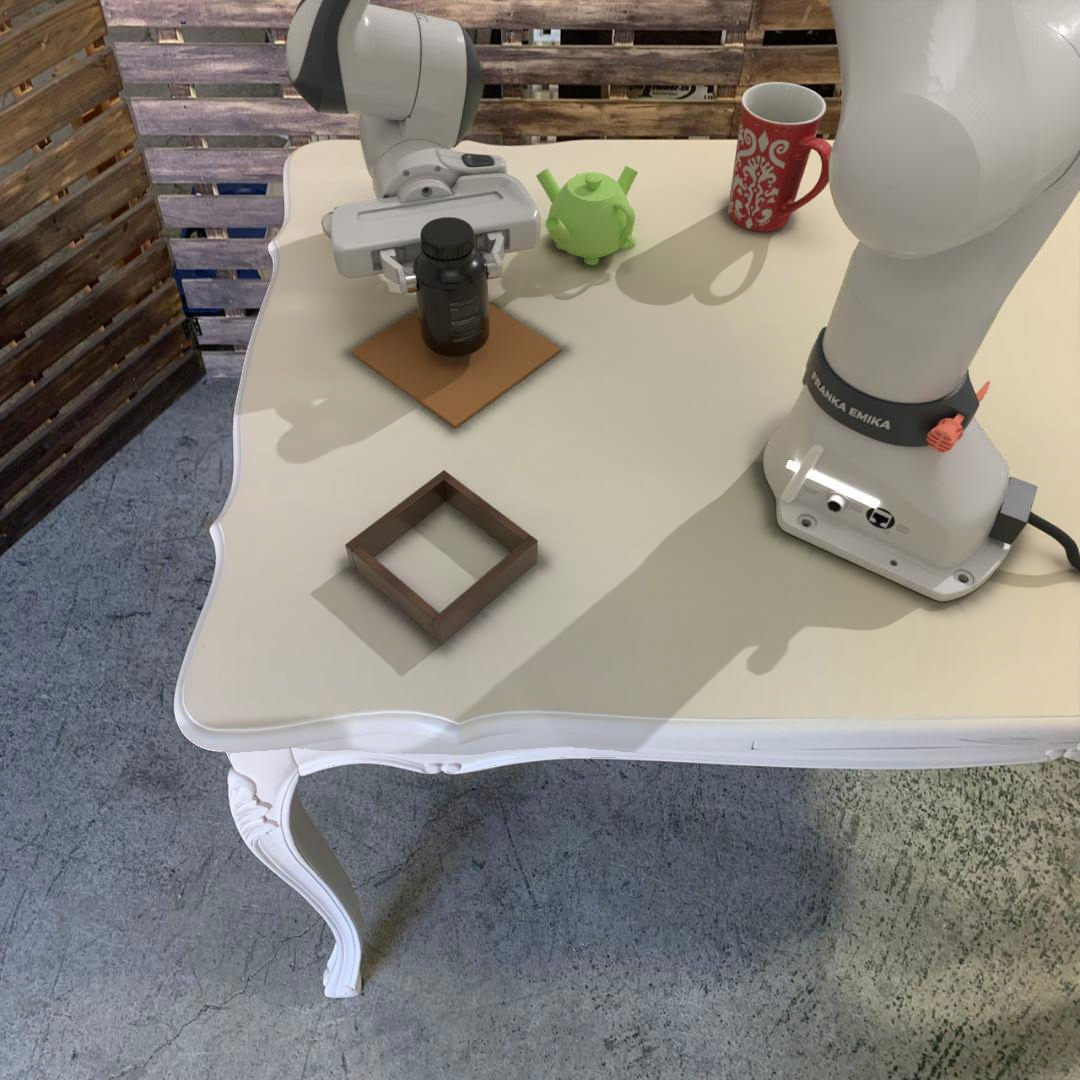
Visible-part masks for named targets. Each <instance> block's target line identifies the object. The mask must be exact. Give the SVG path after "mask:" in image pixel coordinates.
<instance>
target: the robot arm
mask: <svg viewBox="0 0 1080 1080" xmlns="http://www.w3.org/2000/svg"><path fill="white" fill-rule="evenodd" d="M370 2H371V0H300V1H299V2H298V5H297V7H296V9H295V11H294V13H293V17H292V19H291V22H290V25H289V28H288V32H287V37H286V42H285V43H286V44H285V58H286V68H287V75H288V81H289V82H290V84H291V85H292V87H293V88H294V89H295V90H296V92H297V93H298V94H299V96H300V97H301V98H302V99H303V100H304V101H305V102H306V103H307V104H308V105H309V106H310V107H311V108H312V109H313V110H314V111H316V113H320V114H321V113H322V114H336V115H337V114H338V115H349V114H354V115H359V120H358V121H359V122H358V123H359V125H358V127H359V129H358V130H359V140H360V147H361V151H362V152H361V153H362V156H363V160H364V164H365V166H366V171H367V172H368V175H369V177H370V179H371V181H372V187H373V191H374V195H375V197H376V199H369V200H362V201H357V202H355V201H354V202H350V203H345V204H342V205H338V206H335V207H334V208H333V210H332V211H329V212H328V213H326V214H324V215H322V216H321V226H322V230H323V234H325V236H326V237H327V238H329V239H330V241H331V247H332V254H333V258H334V263H335V268H336V272H337V274H338V275H339V276H340V277H343V278H345V279H348V280H353V279H360V278H366V277H372V276H377V275H383V277H384V278H386V279H388V280H389V281H390V282H392V283H394V284H395V285H397V286H399V288H400V292H401V294H402V295H407V294H413V293H416V292H418V288H417V279H416V275H415V273H414V269H413V267H414V262H415V260H416V258H417V256H418V255H419V253H420V252H421V238H420V235H421V230H422V228H423V227H424V225H426V224H427V223H428V222H430V221H432V220H434V219H438V218H443V217H452V218H454V217H455V218H460V219H461V220H464V221H466V222H468V224H470V225H471V227H472V228H473V231H474V241H475V248H476V249H477V250H478V251H479V252H480V253H481V254H482V255H483V257H484V259H485V261H486V266H487V281H488V280H493V279H500V278H501V279H502V278H503V275H504V274H503V260H504V258H505V254H510V253H516V252H522V251H529V250H532V249H535V248H536V247H537V246H538V244H539V242H540V240H541V229H542V226H541V225H542V224H541V223H542V222H541V214H540V210H539V208H538V206H537V204H536V203H535V201H534V199H533V197H532V195H531V194H530V193H529V191H528V190H527V188H526V187H525V185H524V184H523V183H522V181H520V179H518V178H516V177H515V176H513V175H511V174H508V170H507V163H506V160H505V159H504V158H503V157H502V156H501V155H498V154H482V153H480V154H479V153H471V152H462V151H457V150H453V149H455V148H456V147H458V146H459V144H460V143H461V142H462V141H463V140H464V138H465V137H466V135H467V134H468V132H469V131H470V130H471V128H472V126H473V125H474V122H475V119H476V117H477V114H478V110H479V106H480V102H481V97H482V91H483V90H482V89H483V73H482V66H481V62H480V57H479V55H478V52H477V49H476V47H475V45H474V43H473V40H472V38H471V36H470V35H469V33H468V31H467V30H466V29H465V28H464V26H463V25H462V24H461V23H460V22H459V21H453V20H450V19H446V18H441V17H437V16H433V15H428V14H422V13H418V12H414V11H412V12H410V11H407V10H406V11H405V10H400V9H396V8H390V7H386V6H381V5H377V4H372V3H370ZM828 3H829V7H830V11H831V15H832V20H833V26H834V31H835V37H836V38H835V39H836V44H837V52H838V62H839V70H840V71H839V72H840V84H841V85H840V87H841V107H840V115H839V116H840V117H839V122H838V127H837V131H836V133H835V137H834V141H833V143H832V145H831V147H832V150H831V154H830V160H829V182H828V185H829V190H830V194H831V198H832V201H833V205H834V207H835V209H836V211H837V214H838V215H839V218H840V219H841V221H842V222H843V224H844V225H845V227H846V228H847V230H848V231H849V232H850V233H851V234H852V235H853V236H854V237H855V238H856V239H857V240H858V243H857V244H856V246H855V248H854V249H853V251H852V254H851V256H850V259H849V262H848V265H847V267H846V269H845V270H846V271H845V273H844V276H843V278H842V282H841V284H840V287H839V291H838V293H837V296H836V299H835V302H834V304H833V307H832V310H831V313H830V315H829V316H830V317H829V320H828V322H827V325H826V326H823V327H822V328H821V330H819V333H818V335H817V338H816V339H815V341H814V343H813V346H812V348H811V350H810V353H809V355H808V358H807V360H806V364H805V371H804V374H803V377H802V385H803V386H802V388H801V390H800V393H799V394H798V397H797V399H796V400H795V402H794V404H793V406H792V408H791V409H790V410H789V413H788V414H787V416H786V417H785V419H784V420H783V422H782V423H781V424H780V426H779V427H778V428H777V430H775V432H773V433H772V435H771V436H770V437H769V439H768V441H767V443H766V445H765V448H764V451H763V457H762V467H763V473H764V476H765V479H766V481H767V484H768V486H769V488H770V490H771V491H772V494H773V496H774V498H775V502H776V503H775V505H776V506H775V507H776V509H775V510H776V511H775V512H776V513H775V514H776V522H777V525H778V526H779V528H780V529H781V530H782V531H784V532H785V533H787V534H789V535H791V536H793V537H796V538H798V539H800V540H802V541H804V542H807V543H809V544H811V545H814V546H815V547H818V548H820V549H822V550H824V551H827V552H828V553H830V554H833V555H835V556H838V557H840V558H842V559H844V560H847V561H848V562H850V563H852V564H855V565H857V566H859V567H861V568H864V569H866V570H868V571H870V572H872V573H875V574H876V575H879V576H881V577H883V578H885V579H888V580H890V581H892V582H894V583H897V584H899V585H901V586H903V587H905V588H908V589H910V590H912V591H914V592H916V593H919V594H920V595H924V596H926V597H927V598H929V599H932V600H935V601H937V602H947V601H953V600H956V599H960V598H961V597H965V596H966V595H968V594H971V593H972V592H974V591H976V590H977V589H978V588H980V587H981V586H982V585H984V583H985V582H986V581H988V579H990V578H991V577H992V576H993V574H994V573H995V572H996V571H997V569H998V568H999V567H1000V566H1001V565H1002V563H1003V561H1005V559H1006V557H1007V555H1008V554H1009V551H1010V550H1011V548H1012V546H1013V544H1014V542H1015V540H1017V538H1018V537H1019V535H1020V534H1021V533H1022V531H1023V530H1024V528H1025V527H1026V526H1027V525H1028V524H1029V525H1031V526H1032V527H1033V528H1036V529H1038V530H1039V531H1041V532H1043V533H1045V534H1046V535H1048V536H1050V537H1051V538H1052V539H1053V540H1055V541H1056V542H1057V543H1058V544H1060V545H1061V547H1062V548H1063V549H1064V551H1065V555H1066V559H1067V561H1068V563H1069V564H1070V565H1071V566H1072V568H1073V569H1076V570H1077V571H1079V572H1080V550H1079V547H1078V544H1077V542H1076V541H1075V540H1074V539H1073V538H1072V537H1071V536H1070V535H1069V534H1068V533H1066V531H1064V530H1063V529H1061V528H1059V527H1058V526H1056V524H1054V523H1052V522H1050V521H1048V520H1046V519H1045V518H1043V517H1041V516H1039V515H1038V514H1036V513H1035V512H1033V511H1032V507H1033V504H1034V501H1035V497H1036V494H1037V490H1038V485H1035V484H1033V483H1029V482H1028V481H1025V480H1021V479H1019V478H1016V477H1013V476H1010V467H1009V464H1008V462H1007V460H1006V459H1005V457H1004V456H1003V455H1002V453H1001V452H1000V450H998V448H997V447H996V445H995V444H994V442H993V441H992V440H991V438H990V437H989V436H988V434H987V432H985V430H984V428H983V427H982V426H981V424H980V422H979V421H978V420H977V419H976V417H975V415H976V413H977V411H978V409H979V406H980V403H981V402H982V400H983V399H984V398H985V395H986V394H987V393H988V390H989V388H990V384H991V381H990V380H988V381H986V382H985V383H984V384H983V385H982V387H981V388H980V389H979V390H978V391H977V392H976V391H975V388H974V386H973V383H972V381H971V377H970V371H969V368H970V366H971V364H972V362H973V361H974V359H975V357H976V355H977V353H978V352H979V350H980V347H981V346H982V345H983V342H984V340H985V338H986V336H987V334H988V333H989V331H990V329H991V327H992V325H993V323H994V321H995V320H996V318H997V317H998V314H999V312H1000V311H1001V309H1002V307H1003V305H1004V304H1005V302H1006V300H1007V299H1008V297H1009V295H1010V294H1011V292H1012V291H1013V289H1014V288H1015V286H1016V285H1017V283H1018V282H1019V280H1020V279H1021V277H1022V276H1023V274H1024V273H1025V272H1026V270H1027V269H1028V268H1029V266H1030V265H1031V263H1032V262H1033V261H1034V259H1035V258H1036V256H1037V255H1038V253H1039V252H1040V250H1041V249H1042V247H1043V246H1044V245H1045V243H1046V242H1047V241H1048V239H1049V237H1050V236H1051V235H1052V233H1053V231H1054V230H1055V228H1056V227H1057V225H1058V224H1059V223H1060V221H1062V219H1063V217H1064V215H1065V213H1066V212H1067V211H1068V209H1069V208H1070V206H1071V205H1072V203H1073V201H1074V200H1075V198H1076V197H1077V195H1078V194H1079V193H1080V0H828ZM452 148H453V149H452Z"/></svg>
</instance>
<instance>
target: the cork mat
mask: <svg viewBox="0 0 1080 1080" xmlns="http://www.w3.org/2000/svg"><path fill="white" fill-rule="evenodd" d="M488 303H489V327H490V332H489V337H488V340H487V342H486V343H485V345H484V346H483V347H482V348H481V349H479V350H478V351H477V352H475V353H473V354H470V355H467V356H463V357H446V356H442V355H439V354H437V353H435V352H433V351H431V350H430V349H429V348H428V347H427V346H426V345H425V343H424V341H423V339H422V335H421V328H420V321H419V313H418V308H417V309H415V310H414V311H413V312H411V313H409V314H408V315H406V316H404V317H403V318H401V319H400V320H398V321H397V322H395V323H394V324H392V325H390V326H389V327H387V328H386V329H384V330H382V331H381V332H379V333H378V334H376V335H375V336H373V337H372V338H370V339H368V340H366V341H365V342H364V343H362V344H360V345H359V346H357V347H356V348H354V349H352V350H351V354H352V355H353V356H354V357H356V358H357V359H358V360H360V361H361V362H362V363H364V364H365V365H367V366H368V367H369V368H371V369H372V370H374V371H375V372H376V373H378V374H379V375H380V376H382V377H384V379H386V380H388V381H389V382H390V383H392V385H394V386H396V387H397V388H398V389H400V390H402V391H403V392H404V393H405V394H407V395H408V396H410V397H411V398H412V399H414V400H415V401H417V402H418V403H420V404H421V405H422V406H424V407H425V408H427V409H428V410H429V411H431V412H432V413H433V414H434V415H436V416H437V417H439V418H440V419H442V420H443V421H444V422H446V423H447V424H449V425H450V426H451V427H453V428H454V429H457V428H459V427H460V426H461V425H462V424H464V423H465V422H466V421H467V420H470V419H471V418H472V417H473V416H475V415H476V414H477V413H478V412H480V411H481V410H483V409H485V408H486V407H487V406H489V405H490V404H491V403H493V402H494V401H495V400H496V399H498V398H499V397H501V396H502V395H503V394H505V393H506V392H508V391H509V390H511V388H513V387H515V386H516V385H517V384H518V383H520V382H521V381H523V380H524V379H526V378H527V377H528V376H529V375H531V374H532V373H533V372H535V371H536V370H538V369H539V368H540V367H542V366H544V365H545V364H546V363H547V362H548V361H550V360H551V359H553V358H554V357H555V356H557V355H558V354H559V353H561V352H562V347H561V346H559V345H557V344H555V342H552V341H551V340H550V339H547V338H546V337H544V336H543V335H541V334H539V333H538V332H537V331H535V330H533V329H532V328H530V327H528V326H527V325H525V324H524V323H522V322H520V321H519V320H517V319H516V318H514V317H513V316H511V315H509V314H508V313H506V312H505V311H503V310H501V309H500V308H498V307H496V306H495V305H493V304H492V303H490V302H489V301H488Z"/></svg>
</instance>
